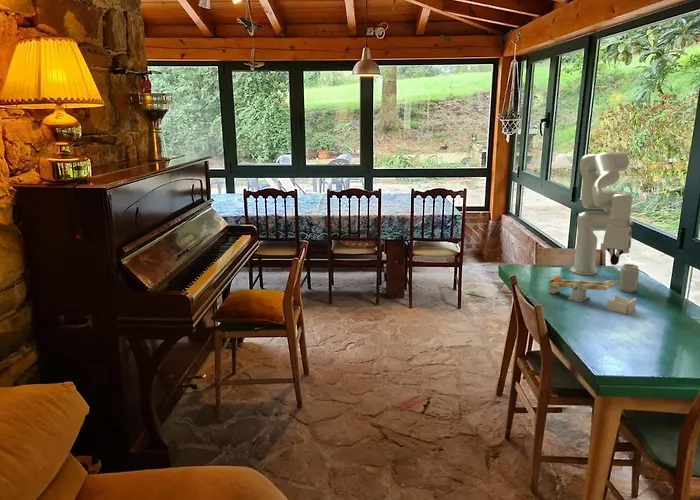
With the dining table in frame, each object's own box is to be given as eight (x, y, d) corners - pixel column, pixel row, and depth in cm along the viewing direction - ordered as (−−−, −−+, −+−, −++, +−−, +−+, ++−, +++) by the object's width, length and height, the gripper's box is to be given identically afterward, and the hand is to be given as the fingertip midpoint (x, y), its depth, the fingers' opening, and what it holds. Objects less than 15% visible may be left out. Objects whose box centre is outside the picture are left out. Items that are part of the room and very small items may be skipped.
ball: (555, 281, 243) (555, 274, 243) (563, 282, 241) (562, 275, 240) (551, 283, 241) (551, 276, 240) (559, 284, 238) (559, 276, 238)
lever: (549, 286, 241) (549, 280, 241) (563, 279, 250) (562, 273, 250) (606, 290, 222) (606, 283, 222) (619, 283, 231) (618, 276, 231)
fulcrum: (545, 294, 240) (546, 279, 239) (556, 288, 248) (557, 274, 246) (580, 303, 229) (581, 287, 227) (590, 297, 236) (592, 282, 234)
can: (632, 287, 248) (635, 263, 245) (639, 293, 241) (642, 268, 238) (615, 287, 249) (619, 262, 246) (621, 292, 242) (625, 267, 239)
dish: (614, 304, 228) (615, 293, 227) (634, 309, 222) (636, 298, 221) (606, 309, 223) (608, 298, 221) (627, 314, 217) (629, 303, 215)
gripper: (641, 224, 221) (635, 266, 225) (604, 219, 231) (599, 259, 236) (634, 226, 216) (629, 269, 220) (597, 221, 226) (592, 262, 231)
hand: (614, 264), depth 228 cm, fingers closed
